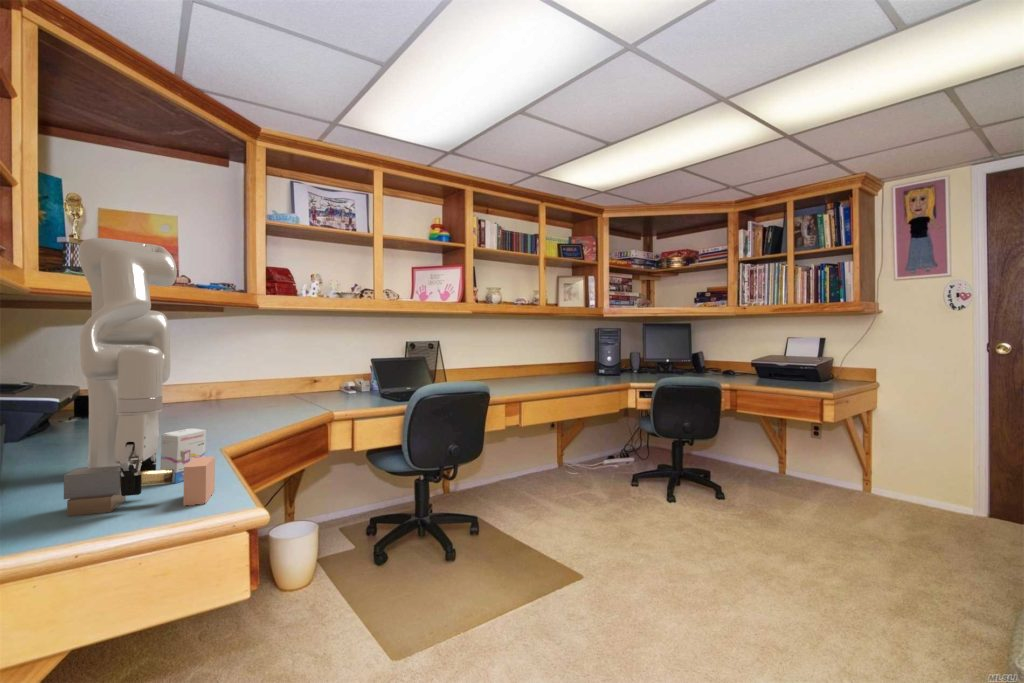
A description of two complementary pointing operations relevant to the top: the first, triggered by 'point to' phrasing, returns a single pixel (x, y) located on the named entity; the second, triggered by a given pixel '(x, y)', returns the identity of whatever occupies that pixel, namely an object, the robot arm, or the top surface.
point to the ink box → (181, 450)
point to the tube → (157, 477)
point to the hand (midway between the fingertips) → (139, 488)
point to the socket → (199, 480)
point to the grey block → (93, 490)
